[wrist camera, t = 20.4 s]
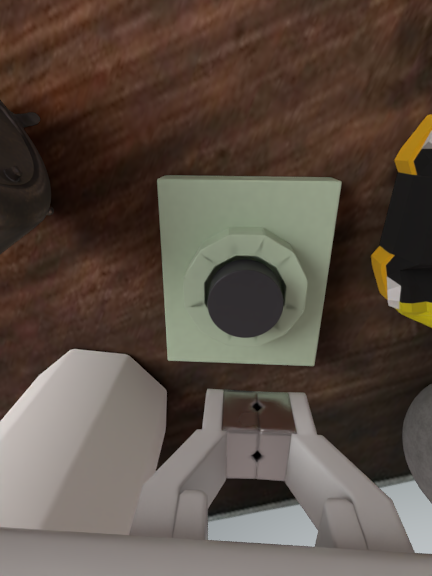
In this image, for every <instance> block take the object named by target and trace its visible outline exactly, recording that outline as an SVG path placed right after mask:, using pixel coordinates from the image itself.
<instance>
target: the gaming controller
mask: <svg viewBox="0 0 432 576" xmlns="http://www.w3.org/2000/svg"><path fill="white" fill-rule="evenodd" d="M394 161H395V164H396V167H397V170H398V173H397V177H396V181H395V185H394V189H393V193H392V197H391V201H390V205H389V209H388V213H387V217H386V221H385V225H384V228H383V232H382V236H381V240H380V244H379V245H380V246H379V247H378V248H377V249H376V250H375V252H374V253H373V254H372V255H371V260H372V267H373V271H374V274H375V278H376V281H377V285H378V289H379V292H380V293H381V294H382V295H383V296H384V297H385V298H386V299H387V300H388V305H389V306H391V307H394V308H395V309H396V310H397V311H398V312H399V313H401V314H402V315H405V316H406V317H408V318H411V319H413V320H415V321H417V322H420V323H422V324H424V325H426V326H428V327H431V328H432V114H430V115H427V116H426V117H425V119H424V120H423V121H422V122H421V124H420V125H419V126H418V128H417V129H416V130H415V131H414V133H413V134H412V135H411V136H410V138H409V139H408V140H407V142H406V143H405V144H404V145H403V147H402V148H401V149H400V151H399V153H398V155H397V156H396V158H395V160H394Z"/></svg>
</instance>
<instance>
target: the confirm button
mask: <svg viewBox="0 0 432 576" xmlns="http://www.w3.org/2000/svg"><path fill="white" fill-rule="evenodd" d="M207 306H208V312H209V315H210V317H211V319H212V321H213V322H214V324H215V325H216V326H217V327H218V328H219V329H221V330H222V331H223V332H225V333H227V334H229V335H232V336H235V337H241V338H250V337H255V336H259V335H262V334H264V333H266V332H267V331H269V330H270V329H271V328H272V327H274V325H275V324H276V323H277V322H278V320H279V319H280V317H281V315H282V311H283V306H284V301H283V295H282V292H281V288H280V285H279V282H278V279H277V277H276V275H275V274H274V273H273V271H272V270H271V269H270V268H269V267H267V266H266V265H264V264H263V263H261V262H258V261H255V260H250V259H240V260H235V261H232V262H229V263H227V264H226V265H224V266H223V267H221V268H220V269H219V270H218V271H217V272H216V274H215V275H214V277H213V279H212V281H211V284H210V289H209V295H208V302H207Z"/></svg>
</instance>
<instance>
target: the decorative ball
mask: <svg viewBox="0 0 432 576" xmlns="http://www.w3.org/2000/svg"><path fill="white" fill-rule="evenodd" d="M402 436H403V448H404V453H405V458H406V461H407V464H408V466H409V469H410V471H411V473H412V475H413V477H414V479H415V481H416V483H417V484H418V486H419V488H420V489H421V490H422V492H423V493H424V494H425V495H426V497H427V498H428V499H429V501H430V502H431V503H432V383H431V384H430V385H428V386H427V387H426V388H424V389H423V390H422V391H421V392H420V393H419V394H418V395H417V396H416V397H415V399H414V400H413V402H412V403H411V405H410V406H409V408H408V411H407V413H406V416H405V419H404V423H403V431H402Z"/></svg>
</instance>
